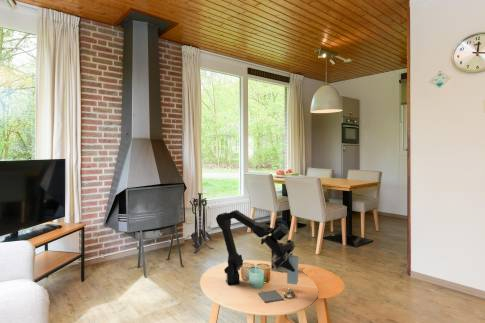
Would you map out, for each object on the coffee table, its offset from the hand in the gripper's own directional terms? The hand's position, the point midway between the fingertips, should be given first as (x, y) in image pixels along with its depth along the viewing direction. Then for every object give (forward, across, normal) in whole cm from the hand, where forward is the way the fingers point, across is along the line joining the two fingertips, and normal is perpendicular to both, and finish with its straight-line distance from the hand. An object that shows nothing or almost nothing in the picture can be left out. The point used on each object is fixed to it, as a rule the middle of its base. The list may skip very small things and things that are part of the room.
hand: (295, 269), depth 153 cm
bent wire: (+7, -1, +12) cm, 14 cm away
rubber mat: (+2, -5, +18) cm, 19 cm away
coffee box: (-2, +32, +22) cm, 39 cm away
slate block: (+4, 0, +6) cm, 7 cm away
